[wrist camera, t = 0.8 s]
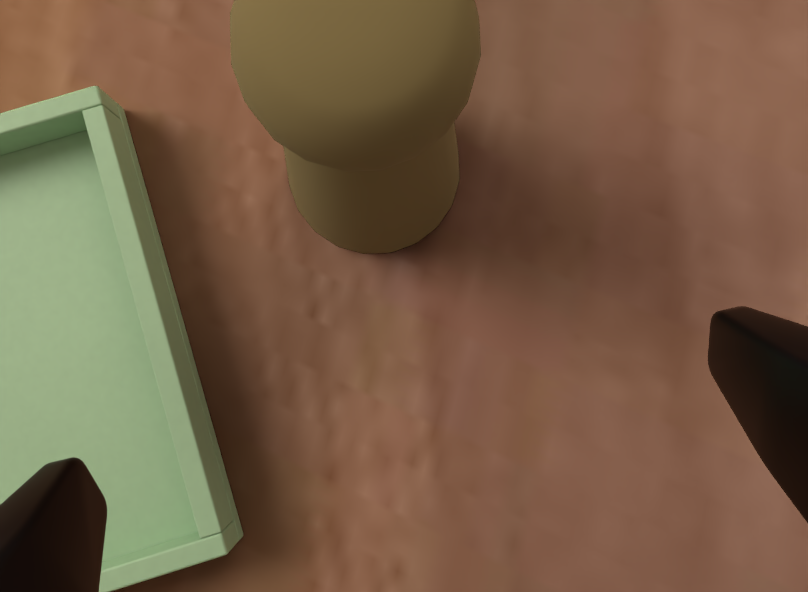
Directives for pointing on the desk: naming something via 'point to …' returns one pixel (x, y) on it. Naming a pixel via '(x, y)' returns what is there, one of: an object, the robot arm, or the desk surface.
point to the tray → (102, 342)
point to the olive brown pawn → (361, 107)
